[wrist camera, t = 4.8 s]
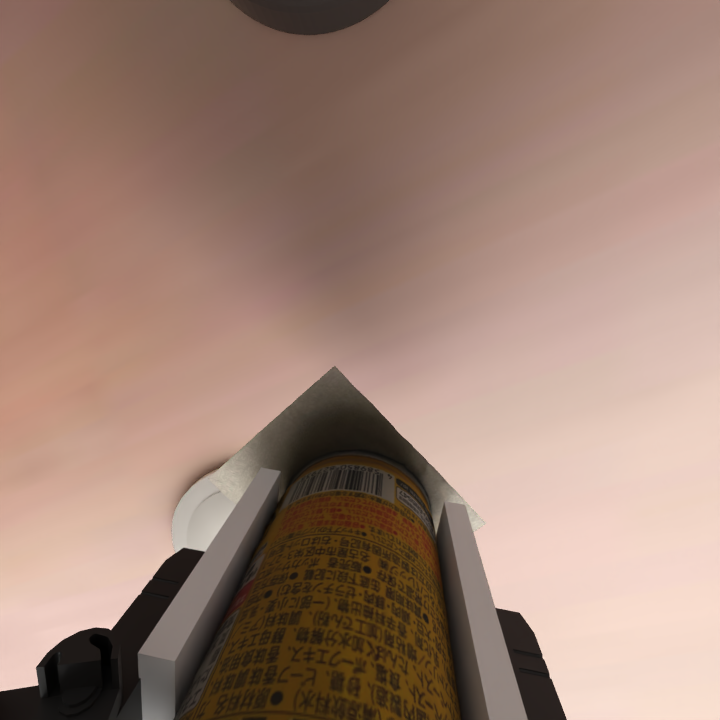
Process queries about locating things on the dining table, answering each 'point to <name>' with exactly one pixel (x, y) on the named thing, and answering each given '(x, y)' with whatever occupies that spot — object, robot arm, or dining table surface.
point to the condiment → (335, 576)
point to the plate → (200, 515)
